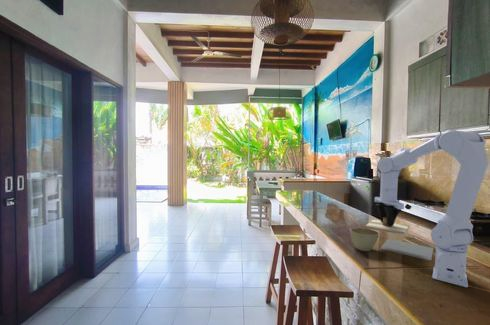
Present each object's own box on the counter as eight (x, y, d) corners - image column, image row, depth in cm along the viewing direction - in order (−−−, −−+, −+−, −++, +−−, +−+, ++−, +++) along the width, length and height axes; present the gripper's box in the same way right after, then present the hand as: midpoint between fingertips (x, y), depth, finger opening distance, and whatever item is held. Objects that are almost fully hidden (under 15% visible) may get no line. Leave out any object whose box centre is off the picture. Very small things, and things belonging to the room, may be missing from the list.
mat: (431, 261, 88) (431, 260, 88) (379, 249, 98) (379, 248, 98) (433, 249, 100) (433, 248, 100) (387, 239, 110) (387, 238, 110)
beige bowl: (381, 255, 92) (382, 236, 92) (352, 252, 94) (353, 233, 94) (373, 246, 102) (374, 228, 102) (346, 243, 104) (347, 226, 104)
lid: (404, 235, 89) (404, 224, 89) (364, 228, 97) (365, 218, 97) (409, 227, 99) (409, 217, 99) (373, 221, 107) (373, 212, 107)
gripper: (412, 191, 91) (410, 229, 91) (386, 186, 105) (384, 218, 106) (394, 191, 90) (392, 229, 91) (370, 186, 105) (368, 218, 105)
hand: (387, 223), depth 98 cm, fingers closed on lid, 3 cm apart
